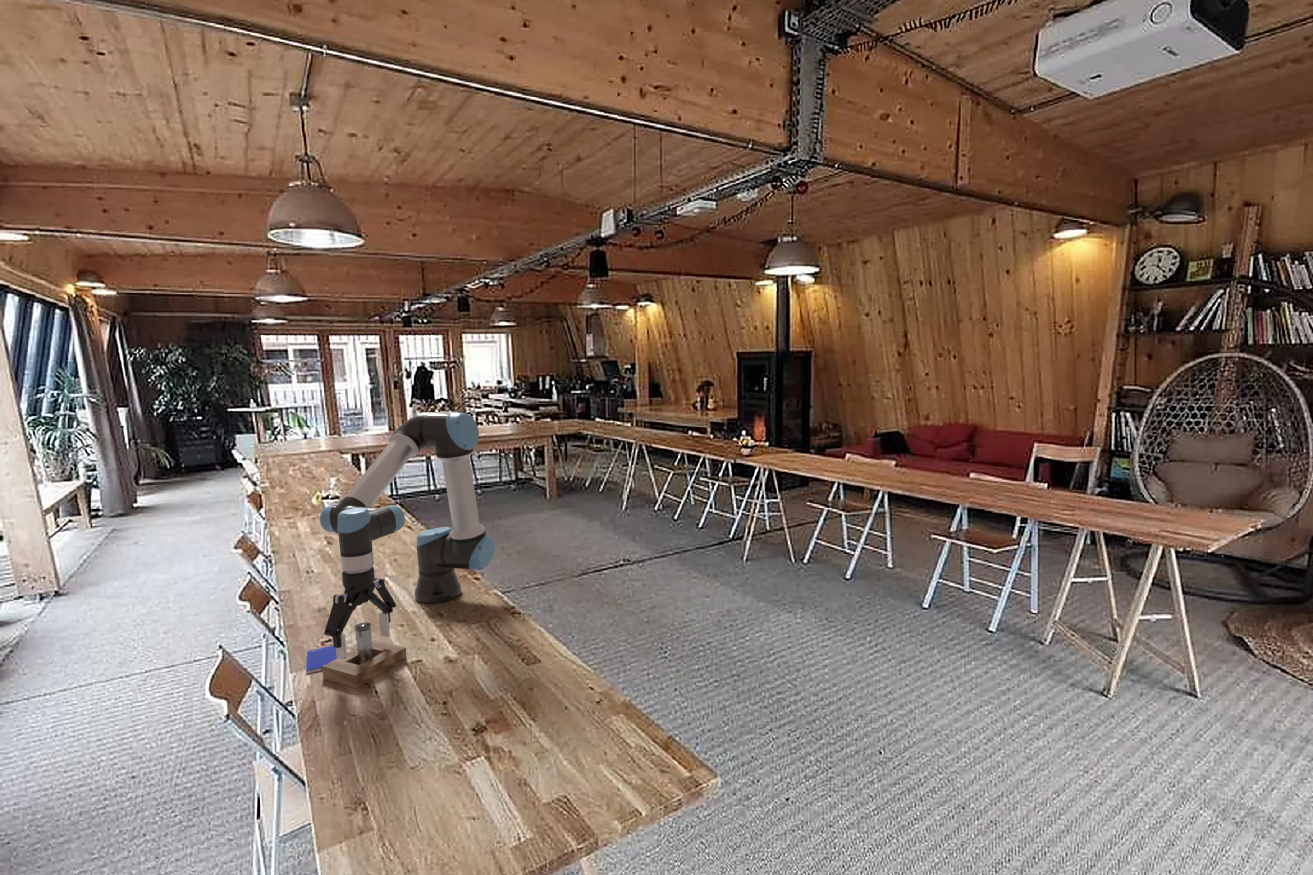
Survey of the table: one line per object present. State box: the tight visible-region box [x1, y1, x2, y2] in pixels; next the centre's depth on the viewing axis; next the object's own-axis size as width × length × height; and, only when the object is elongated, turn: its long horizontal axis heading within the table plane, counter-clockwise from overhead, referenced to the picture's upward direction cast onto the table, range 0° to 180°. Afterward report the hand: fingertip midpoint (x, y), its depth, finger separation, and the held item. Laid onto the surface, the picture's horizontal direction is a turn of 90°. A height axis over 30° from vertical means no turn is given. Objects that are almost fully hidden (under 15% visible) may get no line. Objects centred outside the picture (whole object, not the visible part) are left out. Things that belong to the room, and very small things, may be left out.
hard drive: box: [305, 645, 337, 675], centre depth 167 cm, size 2×8×12 cm
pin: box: [354, 622, 373, 665], centre depth 161 cm, size 4×4×12 cm
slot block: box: [321, 639, 408, 689], centre depth 162 cm, size 16×12×4 cm
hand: (364, 646), depth 161 cm, fingers open, 13 cm apart
